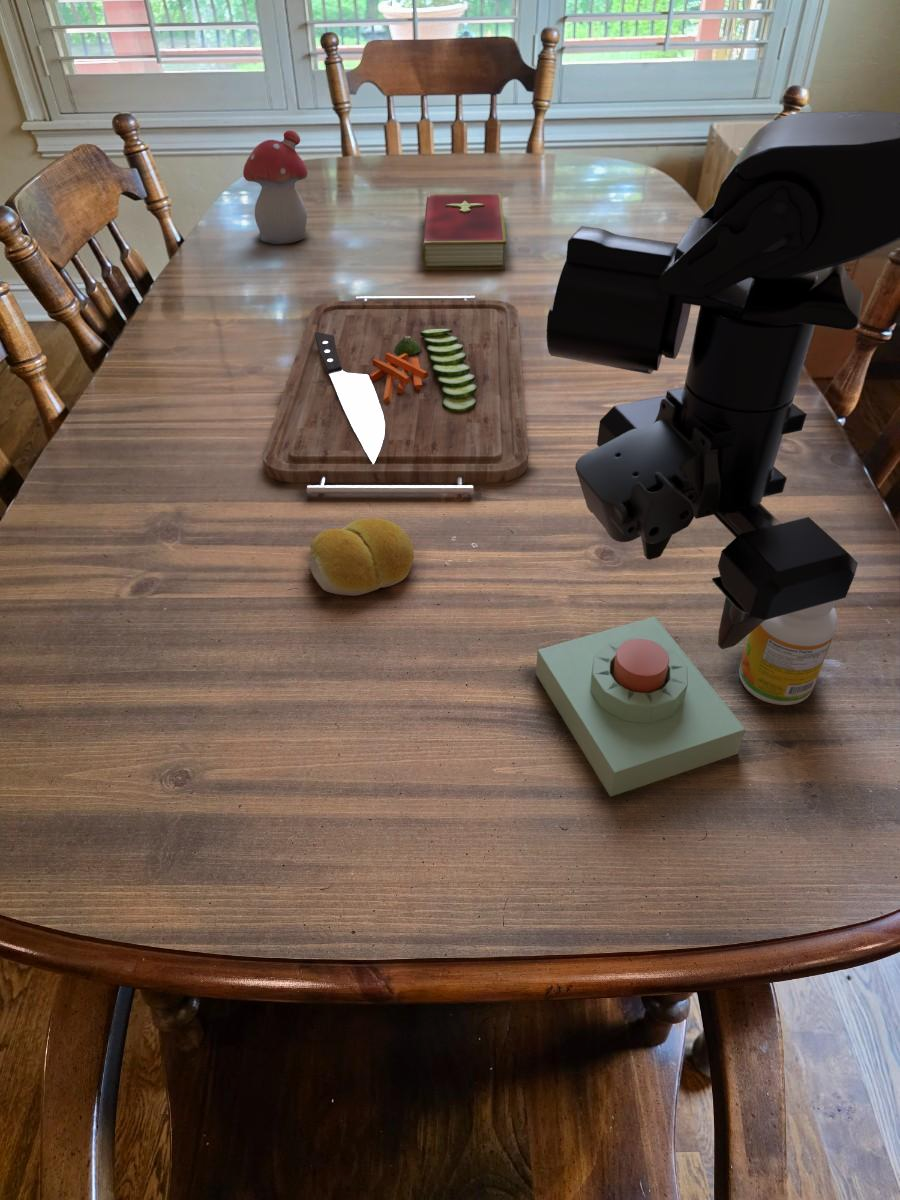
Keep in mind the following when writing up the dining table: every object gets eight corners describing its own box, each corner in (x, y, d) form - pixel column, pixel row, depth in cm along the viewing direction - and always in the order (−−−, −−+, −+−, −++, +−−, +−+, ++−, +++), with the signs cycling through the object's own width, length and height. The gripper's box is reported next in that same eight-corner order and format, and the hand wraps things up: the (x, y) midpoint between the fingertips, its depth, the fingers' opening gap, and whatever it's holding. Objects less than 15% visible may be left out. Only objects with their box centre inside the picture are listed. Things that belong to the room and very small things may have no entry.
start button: (648, 650, 62) (652, 632, 61) (675, 685, 60) (679, 667, 59) (604, 663, 62) (606, 646, 60) (629, 699, 59) (632, 681, 58)
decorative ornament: (316, 230, 138) (304, 126, 128) (312, 245, 133) (299, 138, 123) (257, 231, 138) (241, 127, 128) (251, 246, 133) (233, 139, 123)
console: (650, 640, 69) (658, 598, 66) (737, 754, 60) (752, 712, 57) (535, 674, 66) (538, 632, 63) (610, 797, 58) (617, 755, 55)
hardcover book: (422, 270, 125) (421, 240, 123) (426, 219, 141) (425, 192, 138) (505, 269, 125) (506, 239, 122) (500, 218, 141) (501, 191, 138)
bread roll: (429, 577, 75) (427, 541, 72) (332, 611, 72) (327, 574, 69) (389, 526, 80) (387, 490, 78) (298, 555, 78) (292, 519, 75)
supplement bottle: (749, 645, 68) (778, 549, 62) (819, 670, 66) (857, 573, 60) (728, 690, 65) (757, 593, 58) (802, 718, 63) (840, 620, 56)
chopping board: (530, 497, 83) (531, 470, 81) (253, 497, 84) (248, 470, 82) (515, 302, 117) (516, 279, 115) (317, 303, 117) (315, 281, 115)
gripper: (532, 335, 51) (519, 542, 62) (703, 515, 38) (649, 737, 49) (696, 307, 54) (657, 510, 64) (908, 465, 41) (815, 687, 51)
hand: (687, 599), depth 57 cm, fingers open, 9 cm apart
